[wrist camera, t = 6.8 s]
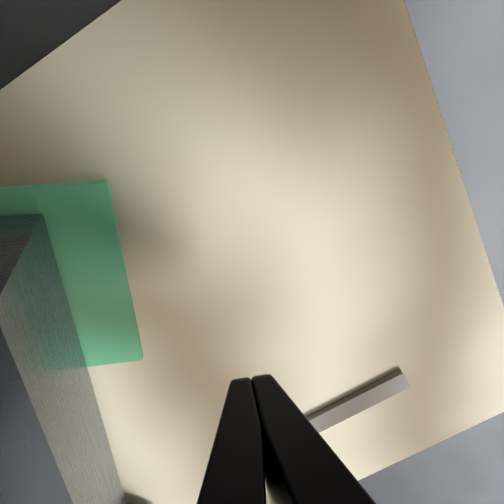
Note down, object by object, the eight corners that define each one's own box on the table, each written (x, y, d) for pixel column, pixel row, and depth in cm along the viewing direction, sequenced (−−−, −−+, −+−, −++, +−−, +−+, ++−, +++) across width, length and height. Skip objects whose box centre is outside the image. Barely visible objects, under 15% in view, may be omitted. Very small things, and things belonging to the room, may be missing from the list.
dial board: (129, 562, 19) (127, 594, 18) (-339, 341, 10) (-393, 380, 9) (514, 376, 17) (537, 402, 16) (329, -153, 8) (353, -172, 7)
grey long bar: (169, 547, 17) (169, 648, 14) (70, 564, 16) (51, 672, 14) (96, 209, 9) (68, 301, 6) (-96, 223, 9) (-206, 327, 6)
